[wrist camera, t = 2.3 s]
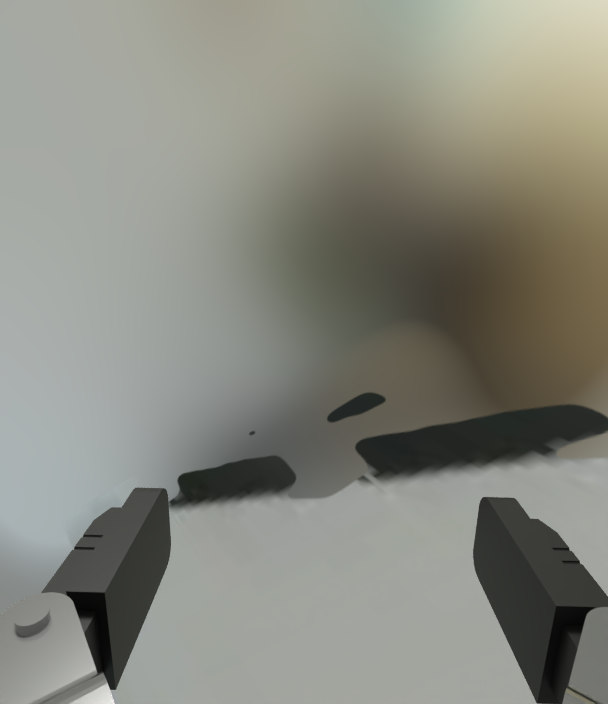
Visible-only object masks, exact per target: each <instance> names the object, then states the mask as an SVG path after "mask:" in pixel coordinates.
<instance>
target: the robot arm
mask: <svg viewBox="0 0 608 704" xmlns="http://www.w3.org/2000/svg"><path fill="white" fill-rule="evenodd" d="M170 549H171V536H170V521H169V505H168V494H167V491H166V489H164V488H163V489H162V488H135V489H134V490H133V491H132V493H131V494H130V496H129V497H128V499H127V500H126V502H125V503H124V505H123V506H122V508H114V507H112V508H110V509H109V510H107V511H106V512H105V513H103V514H102V515H100V516H99V517H98V518H96V519H95V520H94V521H93V522H92V524H91V525H90V526H89V528H88V529H87V530H86V532H85V533H84V535H83V538H81V539H80V540H79V541H78V543H77V544H76V546H75V548H74V550H72V551H71V552H70V554H69V555H68V557H67V558H66V559H65V561H64V562H63V564H62V565H61V566H60V568H59V569H58V570H57V572H56V573H55V575H54V576H53V577H52V579H51V580H50V582H49V583H48V584H47V586H46V587H45V588H44V590H43V591H42V592H41V594H36V595H33V596H30V597H27V598H25V599H23V600H20V601H19V602H17V603H15V604H13V605H12V606H10V607H9V608H8V609H6V610H5V611H4V612H3V613H2V614H1V615H0V704H115V702H114V700H113V697H112V694H111V691H110V690H116V688H117V685H118V683H119V681H120V678H121V676H122V673H123V671H124V669H125V666H126V664H127V661H128V659H129V657H130V654H131V652H132V649H133V647H134V645H135V642H136V640H137V637H138V635H139V633H140V630H141V628H142V625H143V623H144V621H145V618H146V616H147V613H148V611H149V609H150V606H151V604H152V601H153V599H154V597H155V594H156V592H157V589H158V587H159V585H160V582H161V580H162V577H163V575H164V573H165V570H166V568H167V565H168V561H169V556H170ZM473 558H474V566H475V571H476V574H477V577H478V579H479V581H480V583H481V585H482V587H483V590H484V592H485V594H486V596H487V598H488V600H489V602H490V604H491V607H492V609H493V611H494V613H495V615H496V617H497V619H498V621H499V624H500V626H501V628H502V630H503V632H504V634H505V636H506V638H507V641H508V643H509V645H510V647H511V649H512V651H513V653H514V655H515V658H516V660H517V662H518V664H519V666H520V668H521V670H522V673H523V675H524V677H525V679H526V681H527V683H528V685H529V687H530V690H531V692H532V694H533V696H534V698H535V700H536V702H537V703H540V704H608V596H607V595H606V594H605V593H604V591H603V590H602V589H601V587H600V586H599V585H598V584H597V582H596V581H595V580H594V579H593V577H592V576H591V575H590V574H589V572H588V571H587V570H586V569H585V567H584V566H583V565H582V564H580V561H579V560H578V558H577V557H576V556H575V555H574V553H573V552H572V551H570V550H569V547H568V546H567V545H566V543H565V542H564V541H563V540H562V538H561V537H560V536H559V534H558V533H557V532H556V531H554V530H553V529H551V528H550V527H549V526H547V525H546V524H544V523H543V522H541V521H540V520H539V519H530V518H529V516H528V515H527V513H526V512H525V511H524V509H523V508H522V507H521V505H520V504H519V503H518V501H517V500H516V499H515V498H498V497H483V498H482V499H481V501H480V505H479V512H478V519H477V527H476V534H475V541H474V549H473Z"/></svg>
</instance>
